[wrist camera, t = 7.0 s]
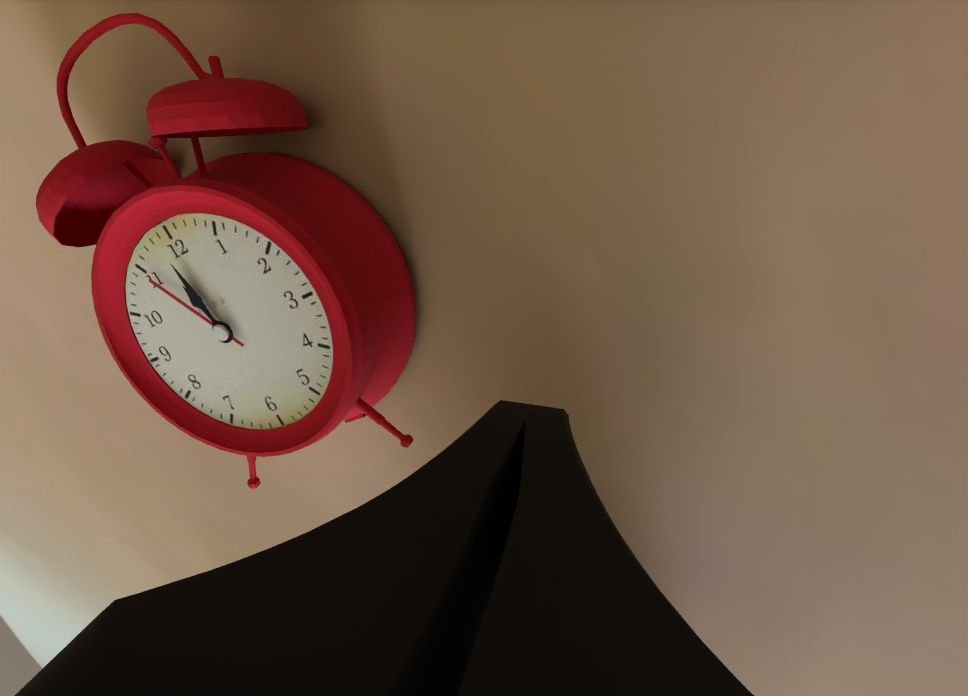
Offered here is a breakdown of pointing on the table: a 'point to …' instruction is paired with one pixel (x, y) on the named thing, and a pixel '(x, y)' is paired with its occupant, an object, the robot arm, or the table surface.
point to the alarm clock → (233, 268)
